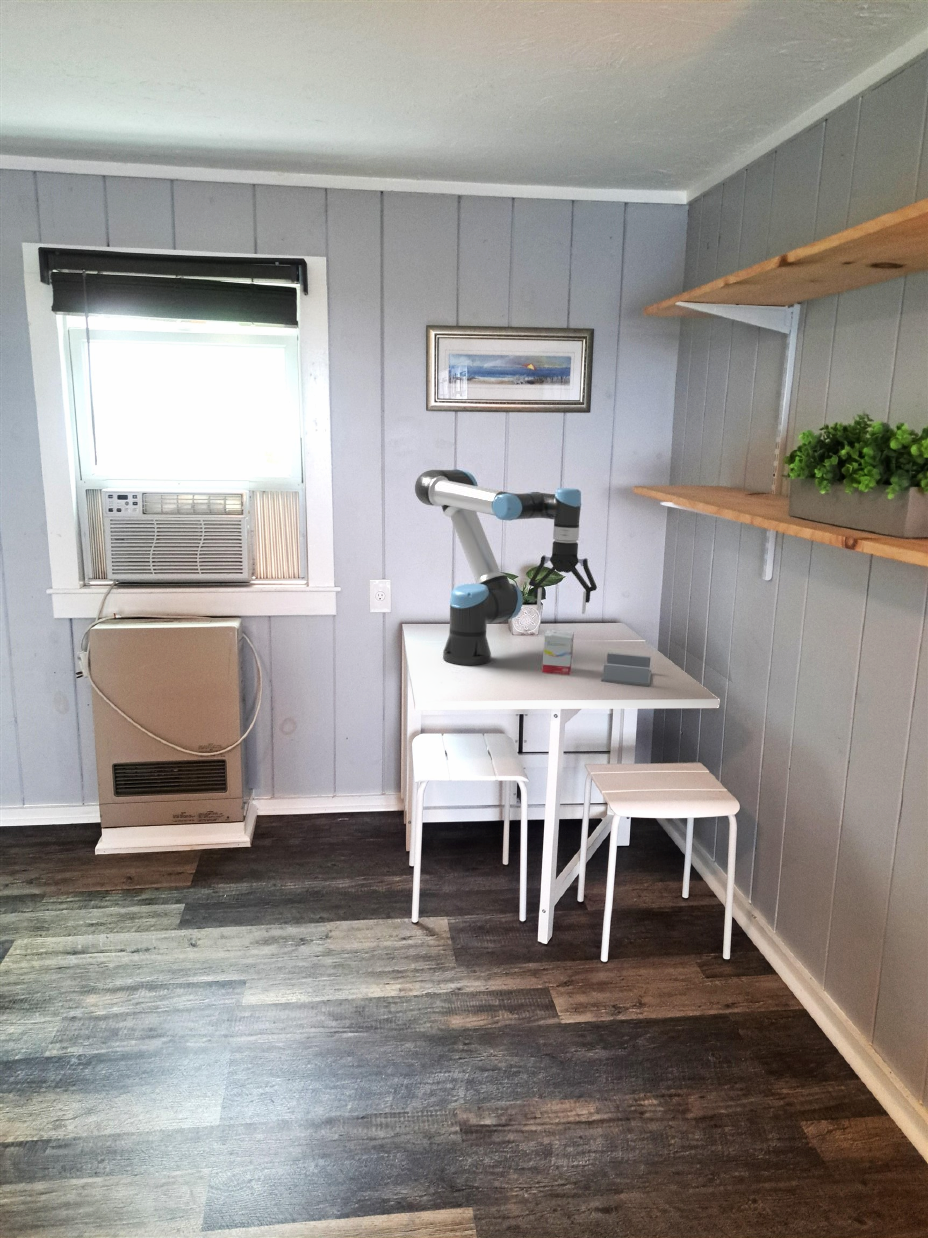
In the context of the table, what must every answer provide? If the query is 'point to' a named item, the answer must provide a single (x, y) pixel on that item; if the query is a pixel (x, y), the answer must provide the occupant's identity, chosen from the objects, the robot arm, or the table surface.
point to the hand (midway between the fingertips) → (561, 611)
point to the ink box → (558, 652)
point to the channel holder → (627, 669)
